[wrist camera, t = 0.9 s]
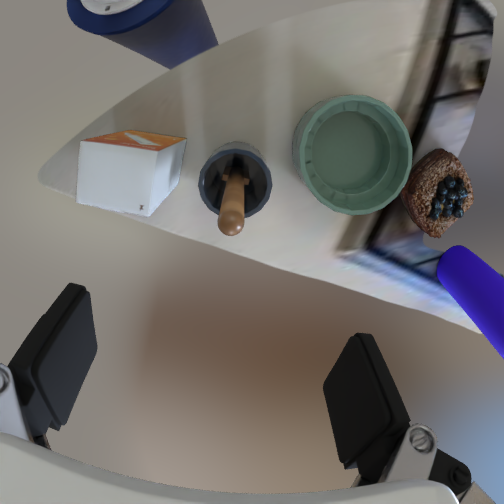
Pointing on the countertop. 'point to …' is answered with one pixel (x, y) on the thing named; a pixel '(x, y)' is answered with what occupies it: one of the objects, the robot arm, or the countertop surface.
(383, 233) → the countertop surface
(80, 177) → the small box
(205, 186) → the crock
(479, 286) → the bottle
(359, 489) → the robot arm
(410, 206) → the pastry
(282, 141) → the countertop surface
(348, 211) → the bowl
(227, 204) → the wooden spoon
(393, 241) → the countertop surface
